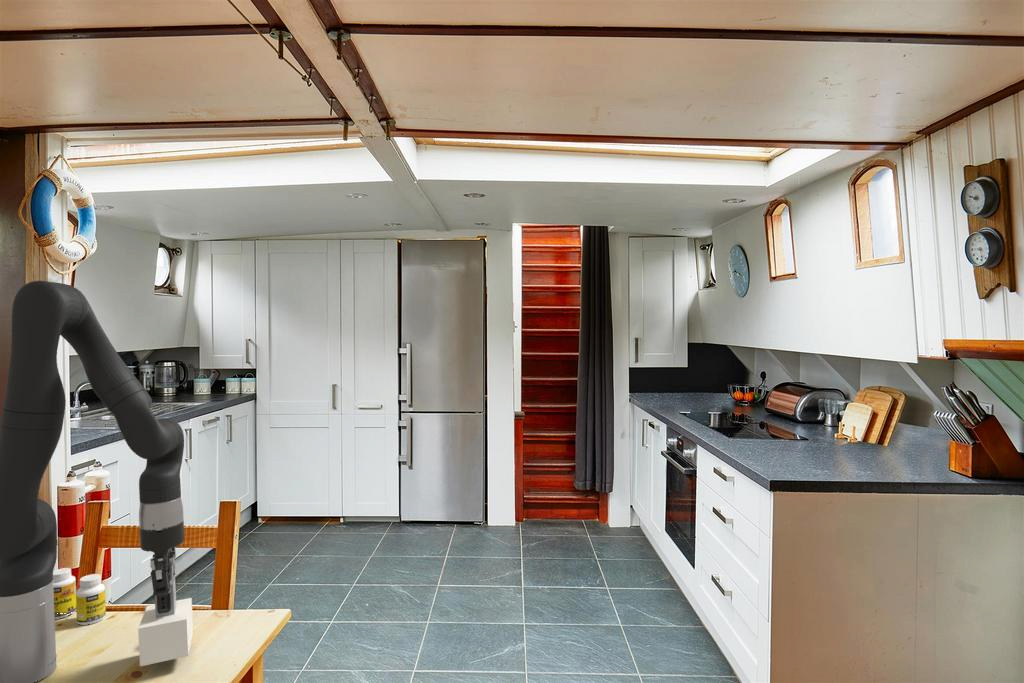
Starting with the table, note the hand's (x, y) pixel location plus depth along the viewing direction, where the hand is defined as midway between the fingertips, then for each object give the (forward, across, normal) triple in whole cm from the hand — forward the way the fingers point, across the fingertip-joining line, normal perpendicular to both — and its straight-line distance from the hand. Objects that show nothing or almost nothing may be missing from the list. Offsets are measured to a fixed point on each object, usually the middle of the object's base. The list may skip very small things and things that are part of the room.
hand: (165, 607), depth 118 cm
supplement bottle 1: (+11, -32, -25) cm, 42 cm away
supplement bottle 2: (+11, -26, -18) cm, 34 cm away
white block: (+8, 0, 0) cm, 8 cm away
